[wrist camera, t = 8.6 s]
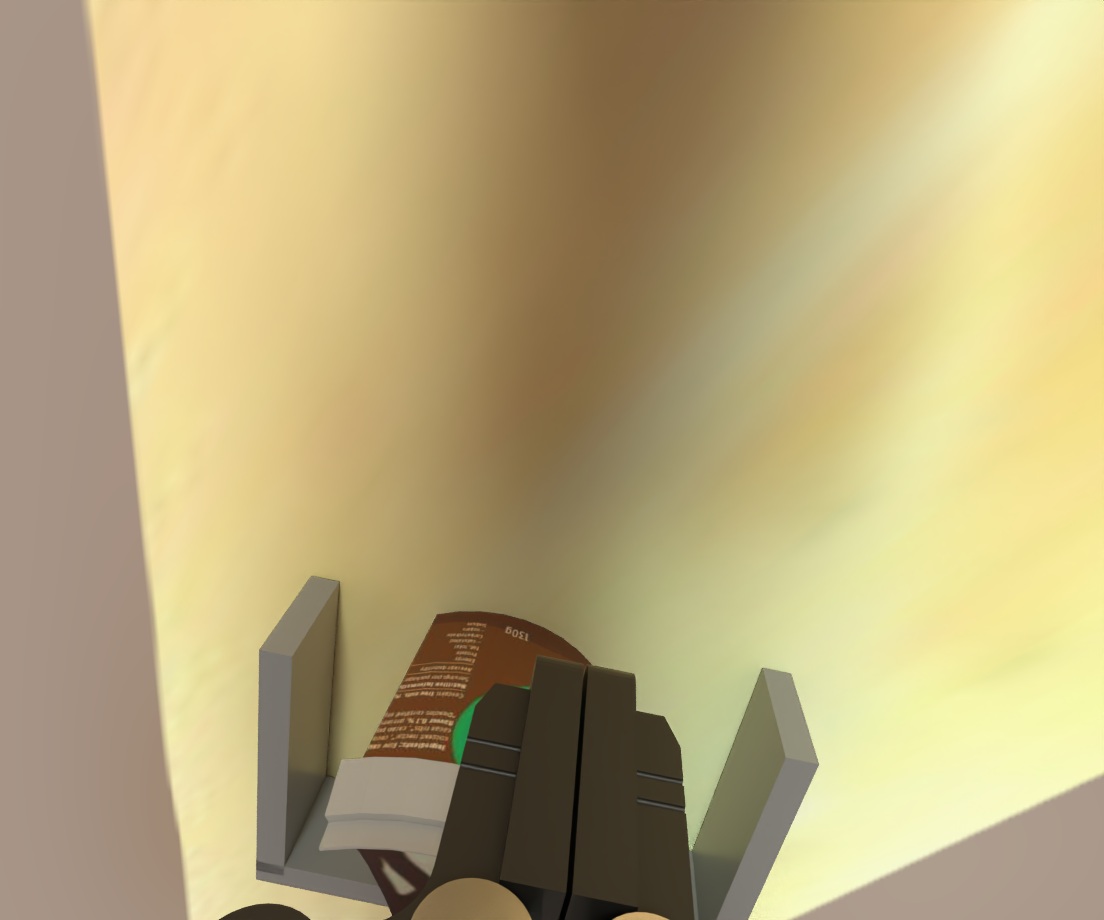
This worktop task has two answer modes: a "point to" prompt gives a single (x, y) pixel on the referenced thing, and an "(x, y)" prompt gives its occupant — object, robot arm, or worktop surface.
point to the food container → (428, 745)
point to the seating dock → (295, 860)
